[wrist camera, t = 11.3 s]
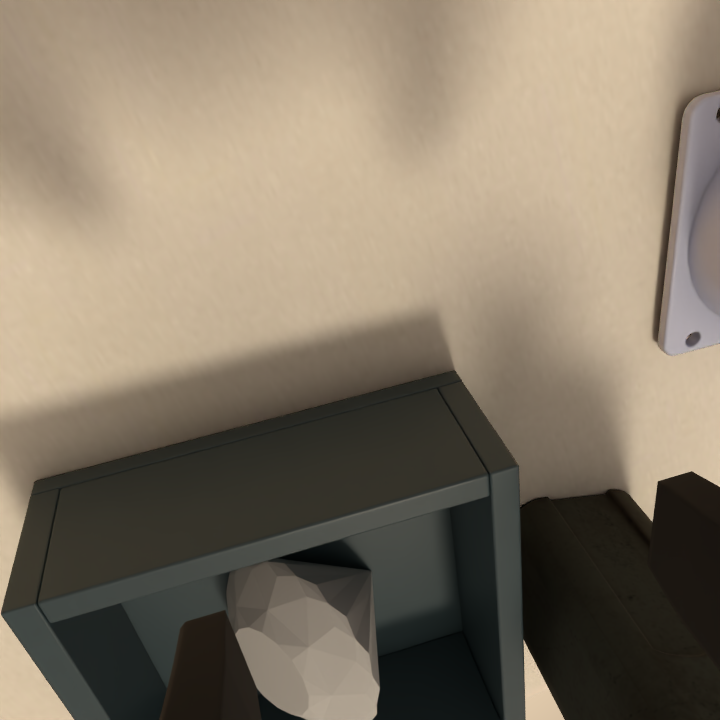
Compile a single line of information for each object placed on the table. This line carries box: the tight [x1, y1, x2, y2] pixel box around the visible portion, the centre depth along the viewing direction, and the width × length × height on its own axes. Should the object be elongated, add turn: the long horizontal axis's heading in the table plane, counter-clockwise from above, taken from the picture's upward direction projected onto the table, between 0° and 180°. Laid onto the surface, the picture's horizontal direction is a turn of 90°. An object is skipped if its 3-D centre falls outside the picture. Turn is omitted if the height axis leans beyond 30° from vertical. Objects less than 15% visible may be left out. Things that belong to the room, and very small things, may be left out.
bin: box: [1, 371, 525, 720], centre depth 21 cm, size 13×13×5 cm
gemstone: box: [226, 558, 380, 720], centre depth 22 cm, size 6×6×5 cm
